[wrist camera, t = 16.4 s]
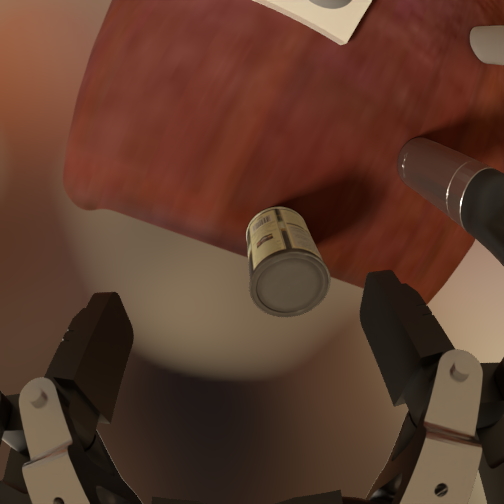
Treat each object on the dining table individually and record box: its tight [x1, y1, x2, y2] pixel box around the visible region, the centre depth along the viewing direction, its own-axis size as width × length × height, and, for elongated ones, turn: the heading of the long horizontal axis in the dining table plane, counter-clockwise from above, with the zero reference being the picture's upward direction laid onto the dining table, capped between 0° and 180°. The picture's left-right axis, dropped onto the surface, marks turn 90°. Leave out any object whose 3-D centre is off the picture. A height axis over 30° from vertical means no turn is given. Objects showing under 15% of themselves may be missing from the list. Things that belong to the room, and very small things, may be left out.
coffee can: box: [246, 207, 330, 317], centre depth 43 cm, size 10×10×14 cm
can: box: [470, 25, 504, 65], centre depth 25 cm, size 8×8×12 cm
